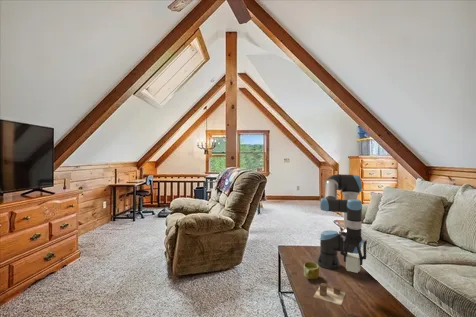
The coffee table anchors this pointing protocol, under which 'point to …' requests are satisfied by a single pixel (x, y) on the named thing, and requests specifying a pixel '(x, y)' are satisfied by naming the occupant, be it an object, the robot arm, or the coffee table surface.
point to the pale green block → (352, 263)
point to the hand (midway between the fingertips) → (352, 269)
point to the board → (332, 295)
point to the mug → (311, 270)
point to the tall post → (323, 289)
